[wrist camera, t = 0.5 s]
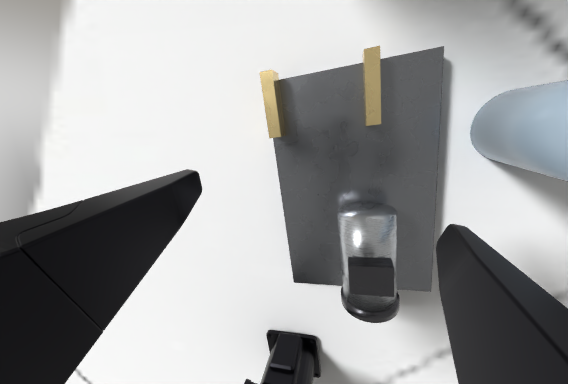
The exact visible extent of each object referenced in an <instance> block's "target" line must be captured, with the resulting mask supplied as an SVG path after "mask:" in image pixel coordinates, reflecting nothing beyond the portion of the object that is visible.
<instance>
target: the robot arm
mask: <svg viewBox="0 0 568 384" xmlns="http://www.w3.org/2000/svg"><path fill="white" fill-rule="evenodd" d="M201 192H202V186H201V181H200V176H199V173H198V172H197V171H194V170H183V171H180V172H177V173H173V174H170V175H166V176H163V177H160V178H156V179H153V180H149V181H146V182H143V183H139V184H136V185H132V186H129V187H126V188H122V189H119V190H116V191H112V192H109V193H105V194H102V195H99V196H95V197H92V198H88V199H85V200H84V201H83V200H81V201H78V202H75V203H71V204H68V205H64V206H61V207H57V208H54V209H50V210H46V211H43V212H39V213H35V214H31V215H27V216H23V217H20V218H16V219H12V220H8V221H4V222H0V384H65V383H66V381H67V380H68V378H69V377H70V376H71V374H72V373H73V372H74V370H75V369H76V368H77V366H78V365H79V364H80V362H81V361H82V360H83V358H84V357H85V356H86V354H87V353H88V352H89V350H90V349H91V348H92V346H93V345H94V343H95V342H96V341H97V339H98V338H99V337H100V335H101V334H102V333H103V330H105V328H106V327H107V326H108V324H109V323H110V322H111V320H112V319H113V318H114V316H115V315H116V314H117V312H118V311H119V310H120V308H121V307H122V306H123V304H124V303H125V302H126V300H127V299H128V297H129V296H130V295H131V293H132V292H133V291H134V289H135V288H136V287H137V285H138V284H139V283H140V281H141V280H142V279H143V277H144V276H145V275H146V273H147V272H148V271H149V269H150V268H151V267H152V265H153V264H154V263H155V261H156V260H157V259H158V257H159V256H160V254H161V253H162V252H163V250H164V249H165V248H166V246H167V245H168V244H169V242H170V241H171V240H172V238H173V237H174V236H175V234H176V233H177V232H178V230H179V229H180V228H181V226H182V225H183V223H184V222H185V220H186V218H187V217H188V215H189V213H190V212H191V210H192V208H193V207H194V205H195V203H196V202H197V200H198V198H199V197H200V195H201ZM436 251H437V265H438V278H439V289H440V295H441V301H442V306H443V310H444V315H445V320H446V325H447V330H448V335H449V340H450V344H451V349H452V354H453V359H454V364H455V369H456V374H457V378H458V383H459V384H568V308H566V307H565V306H564V305H563V304H561V303H560V302H559V301H558V300H556V299H555V298H554V297H553V296H551V295H550V294H549V293H548V292H546V291H545V290H544V289H543V288H541V287H540V286H539V285H538V284H536V283H535V282H534V281H533V280H532V279H530V278H529V277H528V276H527V275H525V274H524V273H523V272H522V271H520V270H519V269H518V268H517V267H515V266H514V265H513V264H512V263H510V262H509V261H508V260H507V259H505V258H504V257H503V256H502V255H500V254H499V253H498V252H497V251H496V250H494V249H493V248H492V247H491V246H489V245H488V244H487V243H486V242H484V241H483V240H482V239H481V238H479V237H478V236H477V235H476V234H474V233H473V232H472V231H471V230H469V229H468V228H467V227H465V226H460V225H456V224H450V225H448V226H447V228H446V229H445V231H444V232H443V234H442V235H441V237H440V238H439V240H438V242H437V245H436ZM267 340H268V345H269V350H270V356H269V359H268V362H267V365H266V368H265V371H264V374H263V377H262V380H261V383H260V384H312V383H313V377H317V378H319V377H320V375H321V369H320V361H319V353H318V345H317V338H316V337H315V336H311V335H303V334H296V333H288V332H281V331H273V330H269V331H268V332H267ZM244 384H256V383H254V382H251V380H249V379H246V381H245V383H244Z"/></svg>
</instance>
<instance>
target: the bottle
mask: <svg viewBox="0 0 568 384" xmlns="http://www.w3.org/2000/svg"><path fill="white" fill-rule="evenodd" d="M470 136H471V141H472V144H473V146H474V148H475V149H476V150H477V151H478V152H479V153H480V154H481V155H483V156H484V157H486V158H489V159H492V160H495V161H499V162H502V163H505V164H509V165H512V166H516V167H519V168H523V169H526V170H529V171H533V172H536V173H540V174H543V175H547V176H550V177H554V178H557V179H560V180H564V181H567V182H568V80H566V81H560V82H554V83H549V84H543V85H537V86H531V87H525V88H519V89H514V90H510V91H507V92H504V93H502V94H499V95H498V96H496V97H494V98H492V99H491V100H490V101H488V102H487V103H486V104H485V105H484V106H483V107H482V108H481V109H480V110H479V111H478V113H477V114H476V116H475V118H474V120H473V122H472V125H471V130H470Z"/></svg>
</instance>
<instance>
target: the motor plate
mask: <svg viewBox="0 0 568 384" xmlns="http://www.w3.org/2000/svg"><path fill="white" fill-rule="evenodd" d="M443 54H444V46H443V47H438V48H433V49H428V50H423V51H418V52H413V53H408V54H404V55H399V56H394V57H389V58H384V59H380V46H377V47H372V48H368V49H364V51H363V63H359V64H355V65H350V66H345V67H340V68H335V69H330V70H325V71H320V72H315V73H311V74H306V75H301V76H296V77H291V78H286V79H281V80H279V78H278V73H276V72H275V71H273V70H268V71H263V72H260V78H261V85H262V91H263V98H264V105H265V112H266V118H267V125H268V132H269V138H273V140H274V147H275V154H276V161H277V168H278V175H279V182H280V189H281V196H282V202H283V209H284V216H285V223H286V230H287V237H288V244H289V251H290V258H291V265H292V272H293V279H294V282H295V283H310V284H325V285H340V286H342V288H341V298H342V304H343V306H344V308H345V309H346V310H347V312H348V313H350V314H351V315H352V316H354V317H355V318H357V319H359V320H362V321H366V322H371V323H381V322H386V321H389V320H391V319H392V318H394V317H395V316H396V314H397V313H398V311H399V295H398V292H397V289H400V290H415V291H430V292H431V279H432V261H433V242H434V223H435V204H436V185H437V166H438V148H439V129H440V110H441V91H442V72H443Z"/></svg>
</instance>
